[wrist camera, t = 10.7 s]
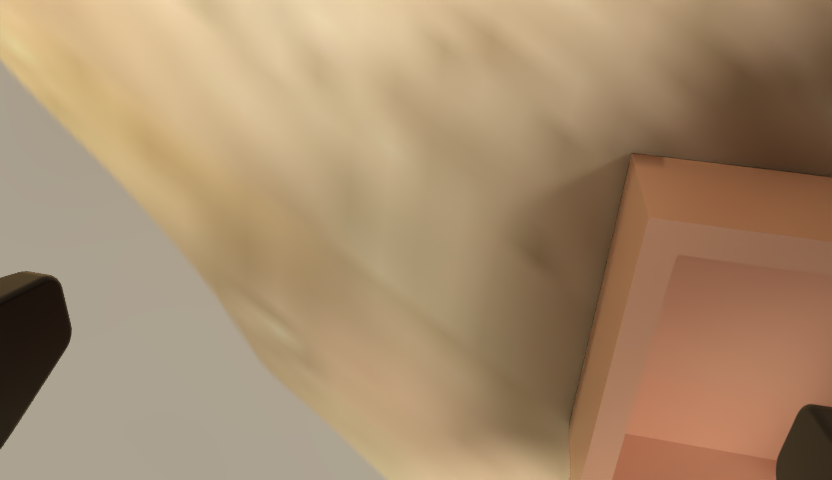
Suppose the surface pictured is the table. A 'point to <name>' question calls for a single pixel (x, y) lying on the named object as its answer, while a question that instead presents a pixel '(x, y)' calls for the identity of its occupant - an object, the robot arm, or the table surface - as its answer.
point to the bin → (706, 324)
